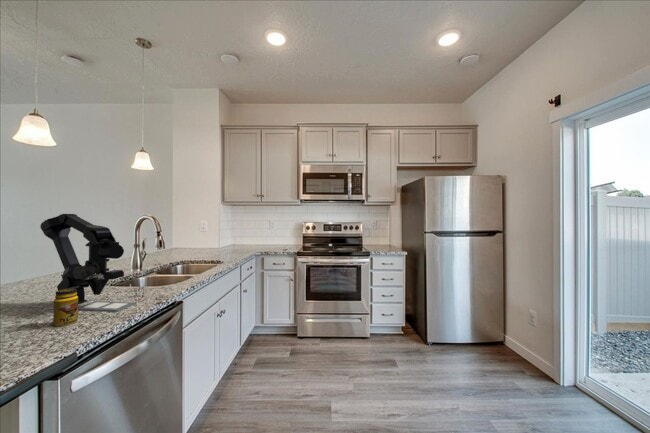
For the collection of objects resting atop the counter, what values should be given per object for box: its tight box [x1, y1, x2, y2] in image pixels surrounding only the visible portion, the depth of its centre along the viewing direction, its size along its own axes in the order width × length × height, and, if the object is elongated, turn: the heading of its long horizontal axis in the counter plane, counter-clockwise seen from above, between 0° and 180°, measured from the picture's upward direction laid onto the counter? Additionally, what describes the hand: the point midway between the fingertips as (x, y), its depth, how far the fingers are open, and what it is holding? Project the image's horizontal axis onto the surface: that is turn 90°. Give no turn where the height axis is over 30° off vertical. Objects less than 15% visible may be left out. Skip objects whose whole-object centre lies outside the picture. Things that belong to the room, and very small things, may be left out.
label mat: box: [78, 300, 136, 313], centre depth 107 cm, size 18×9×1 cm, turn 87°
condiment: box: [39, 288, 84, 331], centre depth 89 cm, size 7×8×12 cm
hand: (97, 294), depth 107 cm, fingers closed
